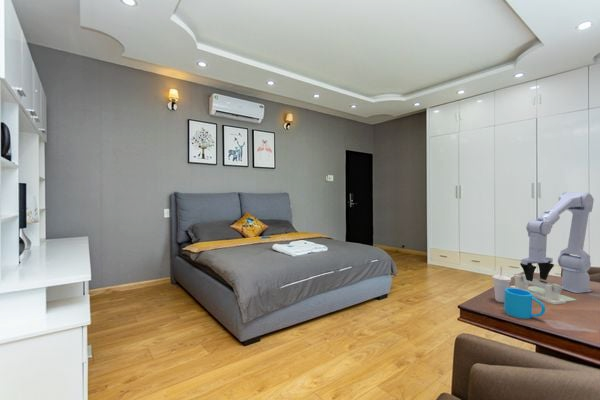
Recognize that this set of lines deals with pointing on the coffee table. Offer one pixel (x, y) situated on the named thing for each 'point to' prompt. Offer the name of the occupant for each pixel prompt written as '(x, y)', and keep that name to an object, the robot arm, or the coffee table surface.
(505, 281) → the smoothie
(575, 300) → the mat
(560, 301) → the rack
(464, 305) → the coffee table surface
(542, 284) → the rail
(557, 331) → the coffee table surface
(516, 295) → the mug
